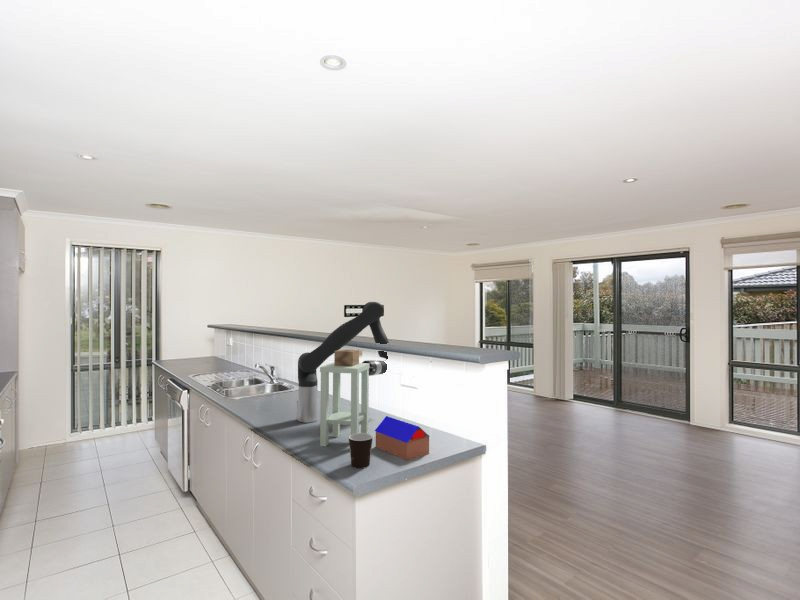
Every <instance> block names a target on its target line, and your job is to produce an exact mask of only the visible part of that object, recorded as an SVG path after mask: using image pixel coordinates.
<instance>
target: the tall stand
mask: <svg viewBox="0 0 800 600" xmlns="http://www.w3.org/2000/svg"><path fill="white" fill-rule="evenodd" d="M369 368H370V363H362V362H359V364H357V365H355V366H334V362H331V363H329V364H325V365H321V366H319V372H320V401H319V402H320V411H319V414H320V416H319V417H320V418H319V419H320V422H319V423H320V424H319V425H320V427H319V428H320V429H319V430H320V431H319V433H320V434H319V437H320V438H319V440H320V441H319V446H320V447H322V446H325V447H324V448H326V447H328V446H329V424H331V425H332V437H333V438H339V437H340V436H341V425H345V426H346V425H347V426H350V435H352V434H357V433H366V434H369V414H370V413H369V405H370V404H369V401H370V400H369V397H370V394H369V392H370V391H369V390H370V389H369V385H370V383H369V381H370V380H369V379H370V378H369V377H370V376H369ZM360 372H361V373H360ZM331 373H332V413H330V412H329V409H330V408H329V406H330V405H329V404H330V403H329V401H330V397H329V396H330V389H329V388H330V374H331ZM341 374H350V411H342V410H341ZM360 374H361V375H360ZM360 376H361V379H360ZM360 380H361V384H360ZM360 385H361V386H360ZM360 387H361V388H360ZM360 392H361V395H360ZM360 396H361V399H360ZM360 401H361V402H360ZM360 404H361V405H360ZM360 408H361V409H360ZM360 411H361V412H360ZM329 413H330V414H329ZM359 423H360V425H359ZM359 427H360V428H359ZM327 445H328V446H327Z"/></svg>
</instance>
